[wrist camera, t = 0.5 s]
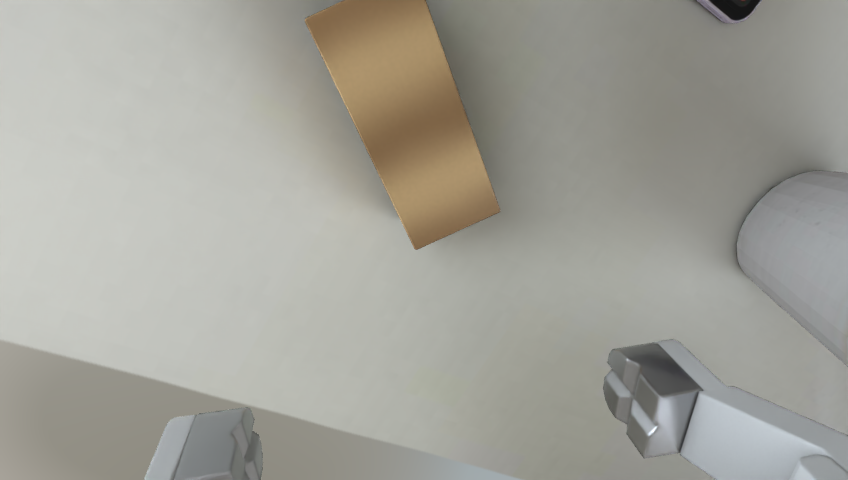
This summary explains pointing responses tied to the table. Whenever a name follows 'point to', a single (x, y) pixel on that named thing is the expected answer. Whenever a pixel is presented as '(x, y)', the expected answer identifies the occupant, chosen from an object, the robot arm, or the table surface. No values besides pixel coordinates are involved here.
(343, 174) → the table surface
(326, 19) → the eraser
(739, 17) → the smartphone
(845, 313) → the potted plant
